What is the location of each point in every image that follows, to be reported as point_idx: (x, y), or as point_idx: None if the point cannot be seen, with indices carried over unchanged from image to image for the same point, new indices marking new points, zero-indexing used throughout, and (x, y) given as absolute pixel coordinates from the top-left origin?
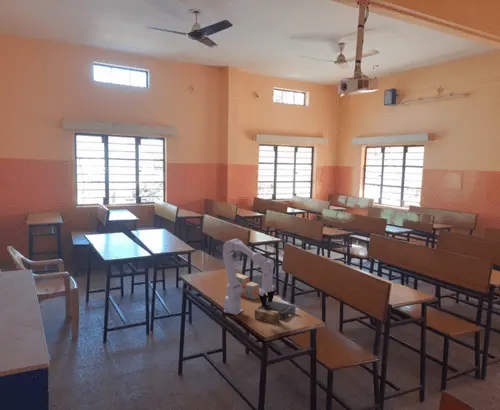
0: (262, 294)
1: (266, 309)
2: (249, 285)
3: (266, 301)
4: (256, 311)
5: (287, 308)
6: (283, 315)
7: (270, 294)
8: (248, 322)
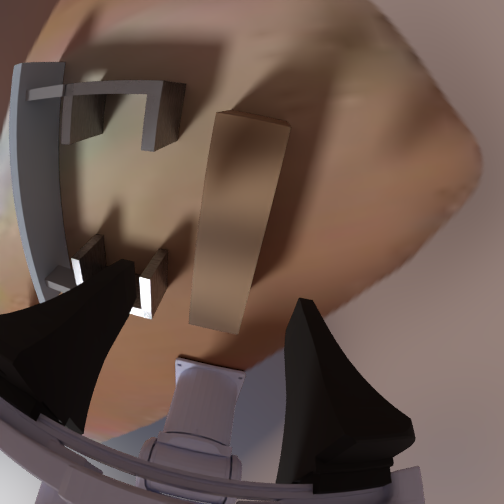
0: (420, 489)
1: (100, 257)
2: None
3: (317, 348)
4: (241, 319)
5: (40, 123)
6: (172, 85)
7: (81, 353)
8: (321, 308)
